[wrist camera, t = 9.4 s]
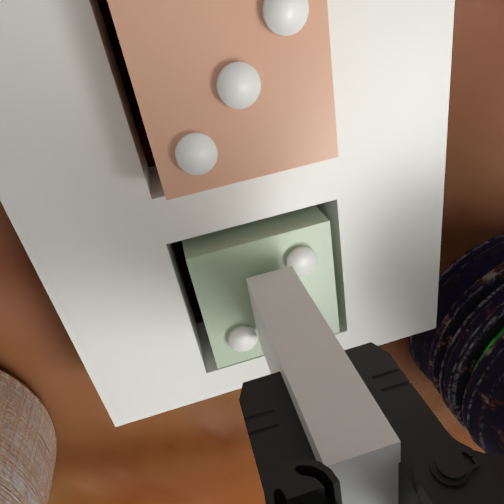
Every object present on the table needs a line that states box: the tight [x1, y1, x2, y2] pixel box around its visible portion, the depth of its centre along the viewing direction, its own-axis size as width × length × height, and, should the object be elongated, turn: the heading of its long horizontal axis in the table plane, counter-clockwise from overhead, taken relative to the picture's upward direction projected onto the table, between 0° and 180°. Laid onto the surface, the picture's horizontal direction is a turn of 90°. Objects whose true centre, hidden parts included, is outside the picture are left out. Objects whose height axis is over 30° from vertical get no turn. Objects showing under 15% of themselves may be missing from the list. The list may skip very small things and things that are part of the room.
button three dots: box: [107, 0, 338, 200], centre depth 11 cm, size 5×5×3 cm
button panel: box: [0, 0, 455, 427], centre depth 13 cm, size 13×22×3 cm, turn 9°
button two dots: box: [182, 205, 340, 369], centre depth 16 cm, size 5×5×3 cm
